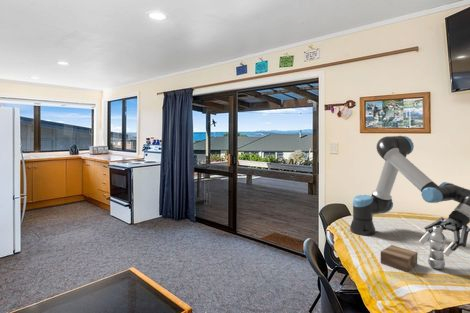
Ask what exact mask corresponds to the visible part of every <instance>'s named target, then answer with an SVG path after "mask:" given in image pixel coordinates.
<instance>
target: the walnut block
mask: <svg viewBox="0 0 470 313" xmlns="http://www.w3.org/2000/svg"><path fill="white" fill-rule="evenodd" d="M418 254H419V253H418V252H416V251H414V250H409V249H407V248H402V247H399V246H395V245H394V244H393V245H392V244H390V245H389V246H388V247H386V248H384V249H382V250H381V251H380V264H382V265H386V266H387V267H391V268H393V269H397V270H399V271H403V272H406V273H408V272H409V271H411V270H412V269H413V268H415V267H416V266H417V265H418Z"/></svg>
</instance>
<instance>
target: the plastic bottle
mask: <svg viewBox="0 0 470 313" xmlns="http://www.w3.org/2000/svg"><path fill="white" fill-rule="evenodd" d="M443 231H444V230H442V227H441V226H433V232H432V233H431V234H430V235H429V239H428V240H429V256H428V260H427V262H428V265H429V267H430V268H433V269H436V270H443V269H445V266H446V260H445V254H444V253H443V252H444V250H445V246H446V243H447V242H446V241H447V238H446V236H445V234H444V233H443Z"/></svg>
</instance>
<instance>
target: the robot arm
mask: <svg viewBox="0 0 470 313" xmlns="http://www.w3.org/2000/svg"><path fill="white" fill-rule="evenodd" d="M414 147H415V145H414V142H413V140H412V139H411V138H410V137H409V136H406V135H393V136H392V135H391V136H384V137H381V138H380V139H379V140H378V141H377V143H376V151H377V153H378V155H379V156H380V157H381V159H383V160H384V164H383V167H382V170H381V173H380V176H379V180H378V182H377V185H376V189H375V190H373V191H372V193H371V195H370V194H360V195H356V196H354V198H353V200H352V221H351V223H350V227H349V230H350V232H351V233H353V234H356V235H359V236H360V235H362V236H373V235H375V234H376V227H375V224H374V222H373V216H374V215H380V214H386V213H389V212H390V211H392V209H393V206H394V202H393V199H392V196H391V193H392V190H393V186H394V185H395V181H396V178H397V175H398V173H400V174H401V175H403V176H404V177H405V179H407V180H408V181H409V182H410V183H412V184H413V186H414V187H415V188H417V190H419V191H420V193H421V194H420V195H421V197H422V200H423V201H424V202H426V203H428V204H434V203H435V204H437V203H442V202H447V201H454V202H457V203H458V204H457V206H456V207H455V208H454V210H452V211H451V212H450V214H449V215H448V218H447V219H445V218H444V217H442V216H440V217H439V219H437V220H436V221H435V220H434V221H433V222H432V223H430V224H428V225H426V226H425V227H424V228H423V229H424V230H425V232H424V234H422V237H421V238H420V239H419V240H418V241H419V243H421V245H425V243H427V242H428V240H429V235H430V234H431V233H432V232H433V226H441V227H442V230H443V231H449V232H452V233H453V238H454V240H453V241H451V242H450V244H449V245H448V246H447V247H446V248H444V252H443V253H444V256H446V257H450V256H451V254H452V253H453V252H455V251H456V250H457V249H458V248H459V247H464V248H465V247H466V246H467V242H468V237H469V232H470V227H469V226H468V225H469V223H470V189H468V188H465V187H461V186H459V185H456V184H454V183H451V182H446V181H444V182H442V183H440V184H439V185H438V184H437V183H436V182H434V181H433V180H432V179H431V178H430V177H429V176H428V175H427V174H425V173H424V172H423V171H422V170H420V169H419V168H418V167H417V166H416V165H415V164H414V163H413V162H411V161H410V160H409V159H408V158H407V156H408V155H410V154H412V152H413V151H414Z"/></svg>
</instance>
